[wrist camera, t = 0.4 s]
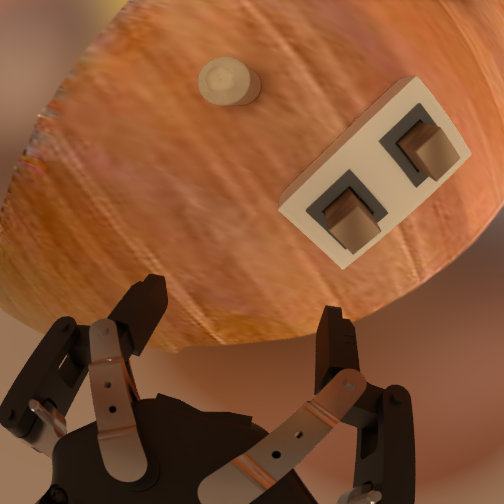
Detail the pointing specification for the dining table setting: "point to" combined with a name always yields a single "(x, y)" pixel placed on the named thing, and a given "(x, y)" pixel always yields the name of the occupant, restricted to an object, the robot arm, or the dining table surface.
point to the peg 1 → (351, 221)
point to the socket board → (371, 168)
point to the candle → (228, 82)
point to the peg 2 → (428, 149)
